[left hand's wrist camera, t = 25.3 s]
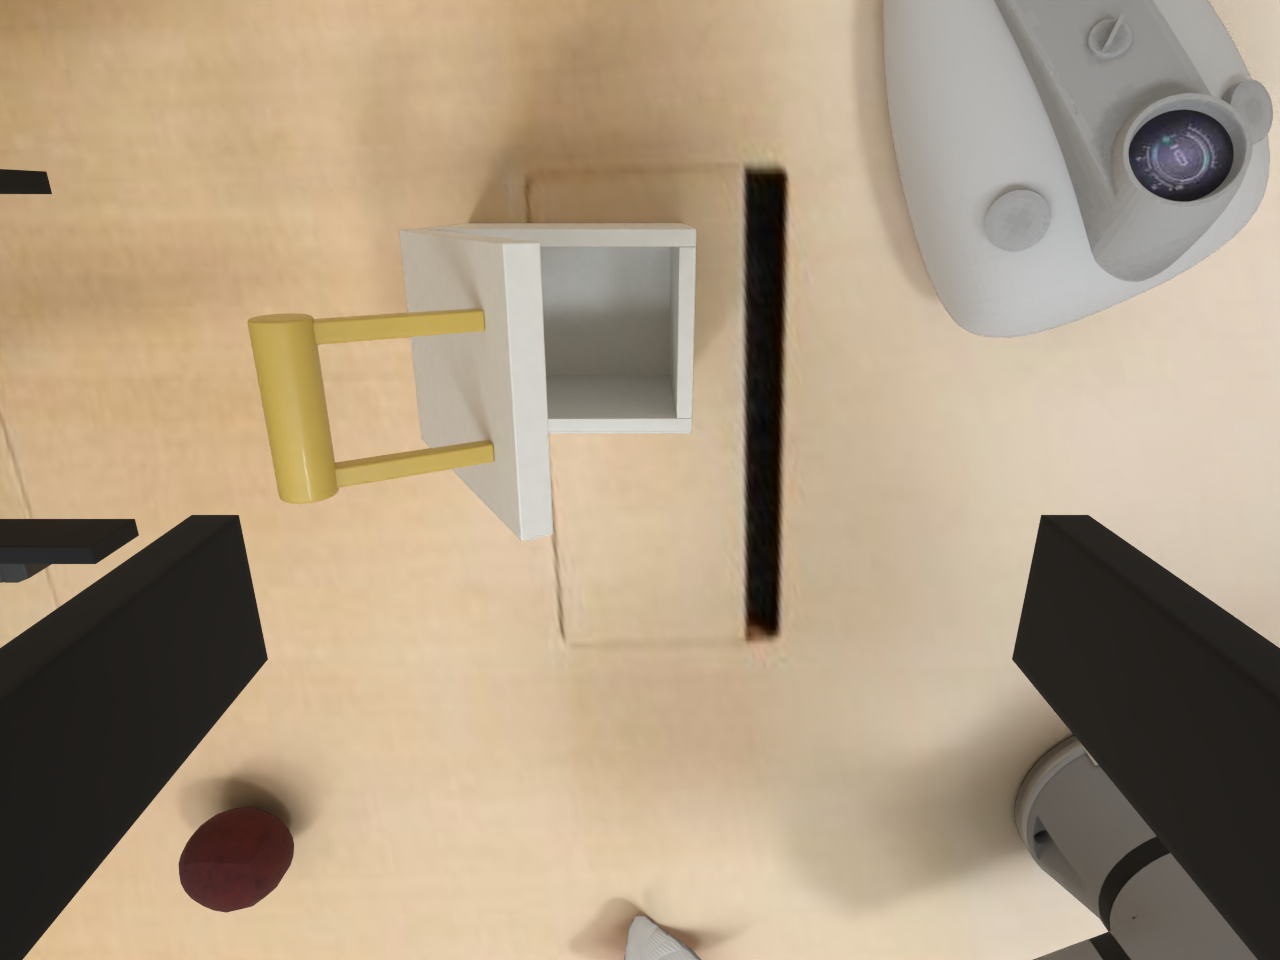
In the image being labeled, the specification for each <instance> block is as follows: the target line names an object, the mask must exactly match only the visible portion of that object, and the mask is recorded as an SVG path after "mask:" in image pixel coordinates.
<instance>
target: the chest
mask: <svg viewBox="0 0 1280 960" xmlns="http://www.w3.org/2000/svg"><path fill="white" fill-rule="evenodd" d="M423 229H426V230H435V231H444V232H453V233H463V234H472V235H481V236H490V237H499V238H509V239H518V240H527V241H536V242H539V243H540V254H541V276H542V298H543V320H544V343H545V365H546V387H547V409H548V431H549V433H692V406H693V364H694V322H695V281H696V247H695V246H696V239H697V230H696V229H695V228H693V227H690V226H688V225H686V224H684V223H467V224H458V225H449V226H440V227H432V228H423ZM417 230H418V229H417Z"/></svg>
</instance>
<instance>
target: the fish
mask: <svg viewBox="0 0 1280 960" xmlns="http://www.w3.org/2000/svg"><path fill="white" fill-rule="evenodd" d="M624 960H701V959H700V958H699V957H698V956H697V955H696V954H695V953H694V952H693V951H692V950H691V949H690V948H689V947H687V946H686V945H685V944H683V943H682V942H680V941H679V940H678V939H676V938H675V937H673V936H672V935H670V934H669V933H668V932H666V931H665V930H663V929H662V928H660V927H659V926H657V925H656V924H655V923H654V922H653V921H652V920H650V919H648V918H647V917H645V916H642V915H638V916H635V917H634V919H633V921H632V923H631V925H630V927H629V931H628V936H627V944H626V951H625V958H624Z"/></svg>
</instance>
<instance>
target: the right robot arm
mask: <svg viewBox="0 0 1280 960" xmlns="http://www.w3.org/2000/svg"><path fill="white" fill-rule="evenodd" d="M0 194H52V192H51V188H50V184H49V181H48V177H47V173H46V172H42V171H24V170H5V169H0ZM137 536H139V534H138V530H137V526H136V522H135V519H0V582H20V581H23V580H25V579H28V578H30V577H32V576H33V575H35V574H36V573H38V572H40V571H41V570H43V569H45V568H46V567H48V566H49V565H51V564H96V563H98V562H99V561H101V560H102V559H104V558H105V557H107V556H108V555H110V554H111V553H113V552H114V551H116V550H117V549H119V548H120V547H122V546H123V545H125V544H126V543H128V542H129V541H131V540H132V539H134V538H135V537H137Z"/></svg>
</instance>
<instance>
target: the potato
mask: <svg viewBox="0 0 1280 960" xmlns="http://www.w3.org/2000/svg"><path fill="white" fill-rule="evenodd" d="M293 852H294V842H293V837H292V835H291V833H290V831H289V829H288V828H287V827H286V826H285V825H284V824H283V822H282V821H281V820H280V819H278V818H277V817H275V816H273V815H271V814H270V813H267V812H264V811H260V810H256V809H252V808H249V807H248V808H235V809H231V810H228V811H225V812H222V813H220V814H217V815H215V816H214V817H212V818H211V819H209V820H208V821H206V822H205V823H204V824H203V825H201V826H200V827H199V828H198V830H197V831H196V832H195V833H194V834H193V835H192V837H191V838H190V839H189V841H188V842H187V844H186V846H185V848H184V850H183V852H182V854H181V857H180V861H179V875H180V881H181V884H182V886H183V888H184V890H185V892H186V893H187V894H188V895H189V896H190V897H191V898H192V899H193V900H195V901H196V902H198V903H199V904H201V905H203V906H205V907H207V908H209V909H212V910H215V911H221V912H230V911H234V910H239V909H243V908H247V907H251V906H253V905H255V904H256V903H257V902H259V901H260V900H262V899H263V898H264V897H266V896H267V895H268V894H269V893H270V892H271V891H273V890H274V889H275V888H276V887H277V885H278V884H279V882H280V881H281V879H282V878H283V876H284V874H285V873H286V871H287V870H288V868H289V867H290V865H291V862H292V858H293Z"/></svg>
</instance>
